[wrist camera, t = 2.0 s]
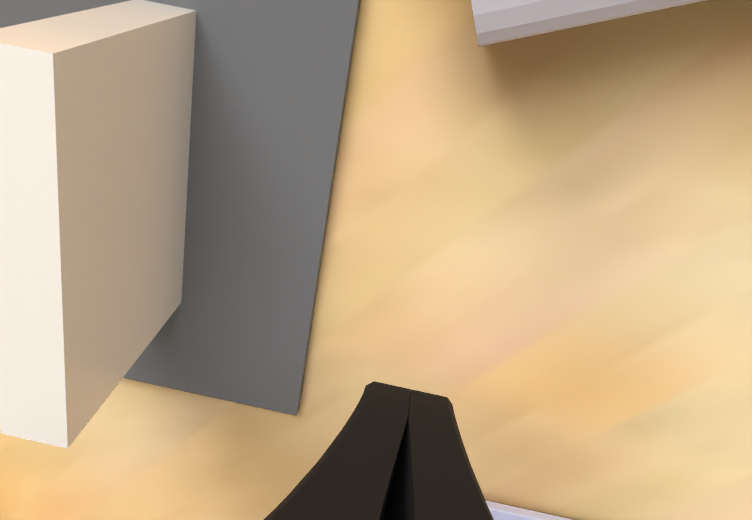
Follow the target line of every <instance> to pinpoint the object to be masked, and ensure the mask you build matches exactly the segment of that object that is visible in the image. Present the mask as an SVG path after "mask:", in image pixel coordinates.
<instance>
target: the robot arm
mask: <svg viewBox="0 0 752 520" xmlns="http://www.w3.org/2000/svg"><path fill="white" fill-rule="evenodd" d="M264 520H572V519H568V518H563V517H559V516H554V515H550V514H545V513H541V512H536V511H532V510H527V509H523V508H518V507H514V506H509V505H505V504H500V503H496V502H491V501H487V500H485V499H484V496H483V494H482V492H481V489H480V487H479V484H478V482H477V479H476V477H475V475H474V472H473V470H472V467H471V464H470V462H469V459H468V456H467V453H466V451H465V448H464V445H463V442H462V439H461V436H460V432H459V429H458V426H457V422H456V419H455V415H454V411H453V406H452V404H451V402H450V401H449V399H448V398H447V397H443V396H439V395H434V394H429V393H425V392H420V391H416V390H410V389H406V388H402V387H397V386H392V385H388V384H383V383H379V382H372V383H370V384H368V385H366V387H365V390H364V393H363V395H362V397H361V399H360V401H359V403H358V405H357V407H356V408H355V410H354V412H353V413H352V415H351V417H350V418H349V420H348V421H347V423H346V424H345V426H344V427H343V429H342V430H341V432H340V433H339V434H338V436H337V437H336V438H335V440H334V441H333V442H332V444H331V445H330V446H329V448H328V449H327V450H326V452H325V453H324V454H323V456H322V457H321V458H320V459H319V461H318V462H317V463H316V464H315V465H314V467H313V468H312V469H311V470H310V471H309V472H308V473H307V475H306V476H305V477H304V478H303V479H302V480H301V481H300V483H299V484H298V485H297V486H296V487H295V488H294V489H293V491H292V492H291V493H290V494H289V495H288V496H287V497H286V498H285V499H284V500H283V501H282V502H281V503H280V504H279V505H278V506H277V507H276V508H275V509H274V510H273V511H272V512H271V513H270V514H269V515H268V516H267V517H266V518H265V519H264Z"/></svg>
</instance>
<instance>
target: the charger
mask: <svg viewBox="0 0 752 520" xmlns="http://www.w3.org/2000/svg"><path fill="white" fill-rule="evenodd" d="M701 1H706V0H471V5H472V11H473V17H474V23H475V29H476V35H477V41H478V46H484V45H489V44H494V43H499V42H504V41H509V40H514V39H519V38H524V37H528V36H533V35H538V34H543V33H548V32H553V31H558V30H563V29H568V28H573V27H578V26H583V25H588V24H593V23H598V22H602V21H607V20H612V19H617V18H622V17H627V16H632V15H637V14H642V13H647V12H652V11H657V10H662V9H667V8H672V7H676V6H681V5H686V4H691V3H696V2H701Z"/></svg>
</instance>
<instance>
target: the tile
mask: <svg viewBox="0 0 752 520" xmlns="http://www.w3.org/2000/svg"><path fill="white" fill-rule="evenodd" d="M195 27H196V10H191V9H186V8H181V7H176V6H171V5H166V4H161V3H156V2H151V1H146V0H130V1H126V2H121V3H116V4H112V5H107V6H102V7H98V8H93V9H88V10H83V11H79V12H74V13H69V14H65V15H60V16H55V17H51V18H46V19H41V20H36V21H32V22H27V23H22V24H18V25H13V26H8V27H4V28H0V426H1V434H5V435H9V436H14V437H18V438H23V439H27V440H31V441H36V442H40V443H45V444H49V445H54V446H58V447H63V448H67V449H68V448H69V446H70V445H71V444H72V442H73V441H74V440H75V439H76V437H77V436H78V435H79V433H80V432H81V431H82V430H83V428H84V427H85V426H86V424H87V423H88V422H89V421H90V419H91V418H92V417H93V415H94V414H95V413H96V412H97V410H98V409H99V408H100V406H101V405H102V404H103V403H104V401H105V400H106V399H107V397H108V396H109V395H110V394H111V392H112V391H113V390H114V388H115V387H116V386H117V385H118V383H119V382H120V381H121V379H122V378H123V377H124V376H125V374H126V373H127V372H128V370H129V369H130V368H131V367H132V365H133V364H134V363H135V361H136V360H137V359H138V358H139V356H140V355H141V354H142V352H143V351H144V350H145V349H146V347H147V346H148V345H149V343H150V342H151V341H152V340H153V338H154V337H155V336H156V334H157V333H158V332H159V331H160V329H161V328H162V327H163V325H164V324H165V323H166V322H167V320H168V319H169V318H170V316H171V315H172V314H173V313H174V311H175V310H176V309H177V307H178V306H179V305H180V303H181V300H182V281H183V261H184V242H185V222H186V203H187V183H188V164H189V144H190V125H191V105H192V86H193V66H194V47H195Z"/></svg>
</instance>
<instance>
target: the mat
mask: <svg viewBox="0 0 752 520" xmlns="http://www.w3.org/2000/svg"><path fill="white" fill-rule="evenodd" d="M126 1H130V0H0V28H4V27H8V26H13V25H18V24H22V23H27V22H32V21H36V20H41V19H46V18H51V17H55V16H60V15H65V14H69V13H74V12H79V11H83V10H88V9H93V8H98V7H102V6H107V5H112V4H116V3H121V2H126ZM146 1H151V2H156V3H161V4H166V5H171V6H176V7H181V8H186V9H191V10H196V27H195V47H194V66H193V86H192V105H191V125H190V144H189V164H188V183H187V203H186V222H185V242H184V261H183V281H182V300H181V303H180V305H179V306H178V307H177V309H176V310H175V311H174V313H173V314H172V315H171V316H170V318H169V319H168V320H167V322H166V323H165V324H164V325H163V327H162V328H161V329H160V331H159V332H158V333H157V334H156V336H155V337H154V338H153V340H152V341H151V342H150V343H149V345H148V346H147V347H146V349H145V350H144V351H143V352H142V354H141V355H140V356H139V358H138V359H137V360H136V361H135V363H134V364H133V365H132V367H131V368H130V369H129V370H128V372H127V373H126V374H125V376H124V377H123V378H127V379H131V380H136V381H140V382H145V383H150V384H154V385H159V386H163V387H168V388H172V389H177V390H181V391H186V392H191V393H195V394H200V395H204V396H209V397H213V398H218V399H223V400H227V401H232V402H236V403H241V404H245V405H250V406H254V407H259V408H264V409H268V410H273V411H277V412H282V413H286V414H291V415H295V416H296V415H297V412H298V409H299V404H300V397H301V391H302V384H303V377H304V371H305V364H306V358H307V351H308V344H309V338H310V331H311V324H312V318H313V311H314V304H315V298H316V291H317V285H318V278H319V271H320V265H321V258H322V251H323V245H324V238H325V232H326V225H327V218H328V212H329V205H330V198H331V192H332V185H333V178H334V172H335V165H336V159H337V152H338V145H339V139H340V132H341V125H342V119H343V112H344V106H345V99H346V92H347V86H348V79H349V72H350V66H351V59H352V52H353V46H354V39H355V33H356V26H357V19H358V13H359V6H360V0H146Z"/></svg>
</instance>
